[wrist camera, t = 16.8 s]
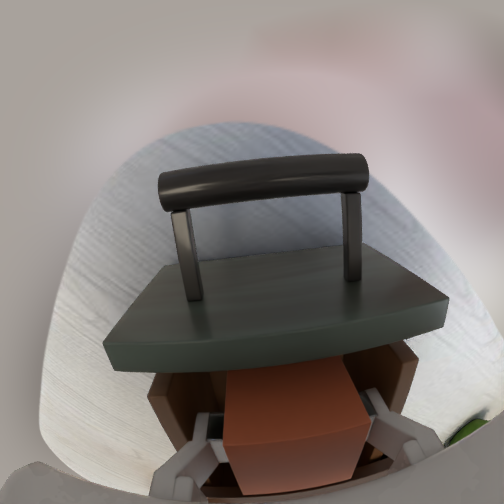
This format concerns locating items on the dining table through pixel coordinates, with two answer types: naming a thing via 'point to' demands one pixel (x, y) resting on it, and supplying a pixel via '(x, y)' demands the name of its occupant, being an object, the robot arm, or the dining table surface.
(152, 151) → the dining table surface
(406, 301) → the drawer
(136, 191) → the dining table surface
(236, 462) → the block
